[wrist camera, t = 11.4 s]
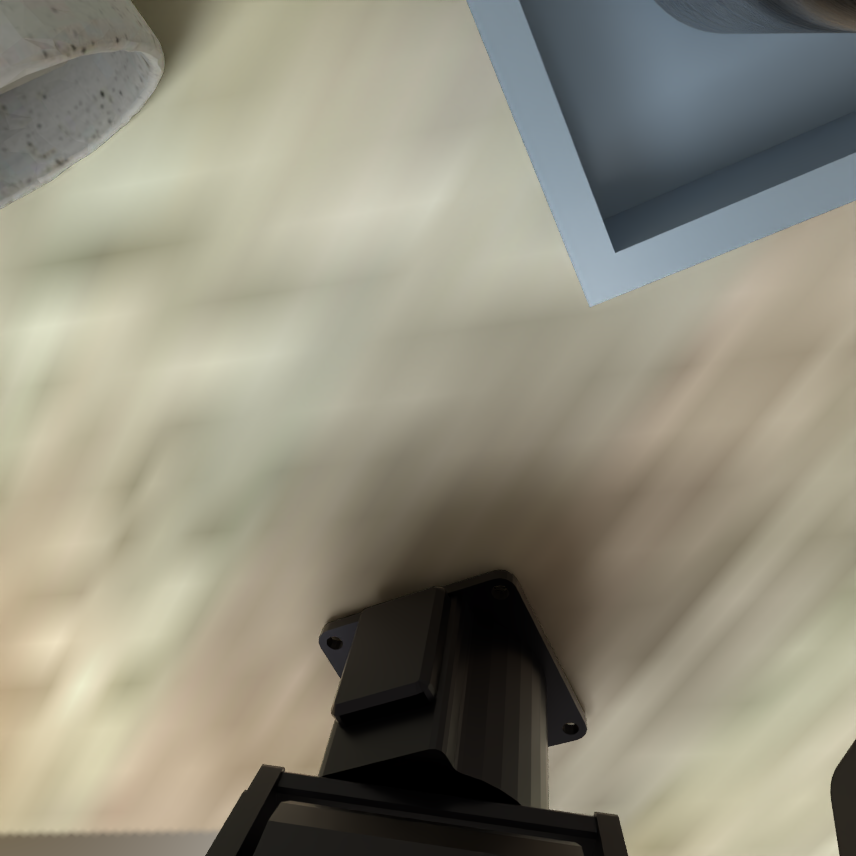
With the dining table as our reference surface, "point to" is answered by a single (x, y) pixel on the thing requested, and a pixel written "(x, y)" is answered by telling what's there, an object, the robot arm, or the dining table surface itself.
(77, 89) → the grey cylinder
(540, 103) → the tray
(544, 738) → the robot arm
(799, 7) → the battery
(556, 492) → the dining table surface
